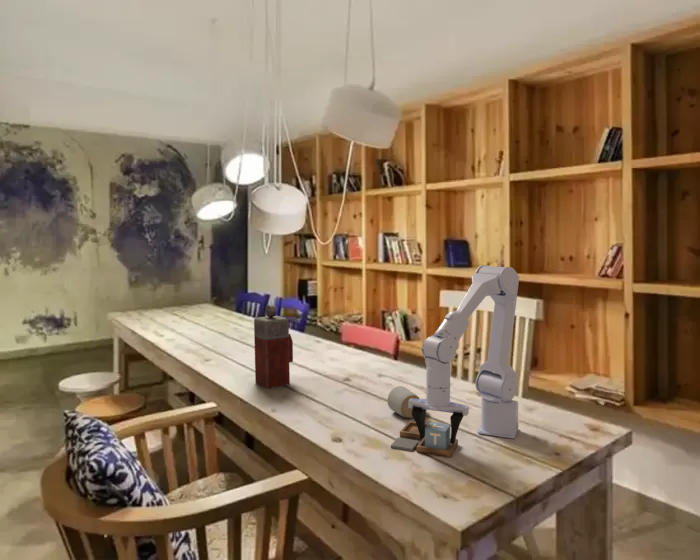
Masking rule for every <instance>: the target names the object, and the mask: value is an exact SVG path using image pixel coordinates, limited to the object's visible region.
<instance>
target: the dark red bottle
mask: <svg viewBox="0 0 700 560" xmlns="http://www.w3.org/2000/svg"><path fill="white" fill-rule="evenodd" d="M277 310H278V309H277V306H276V305H275V304H267V305H266V306H265V315H266V316H260V317H255V318H254V319H253V327H254V328H253V331H254V335H253V336H254V337H253V339H254V369H255V371H254V372H255V373H254V377H255V379H254V380H255V384H256V383H257V384H256V385H258V384H259V385H258V386H260V385H261V386H260V387H262V386H263V388H264V387H265V388H264V389H266V388H267V389H266V390H269V389H268V388H270V389H273V388H272V387H275V388H278V387H277V386H280V387H283V386H282V385H284V386H287V385H286V384H289V385H290V384H291V383H290V379H291V377H290V375H291V374H290V363H293V362H294V349H293V346H294V345H293V344H294V343H293V338H292V335H291V334H290V332H289V331H290V330H289V327H290V326H289V323H290V321H289V319H288V318H286V317H284V316H283V317H282V316H279V315H277V312H278V311H277Z"/></svg>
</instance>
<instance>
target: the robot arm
mask: <svg viewBox="0 0 700 560" xmlns="http://www.w3.org/2000/svg"><path fill="white" fill-rule="evenodd" d="M519 283H520V276H519V275H518V273H517V271H516V270H515V269H514V268H513V267H511V266H493V265H486V264H485V265H484V264H482V265H479V266H478V267H477V268H476V270H475V271H474V273H473V275H472V276H471V285H470V286H469V288H468V290H467V292H466V294H465V295H464V297H463V299H462V300H461V302H460V304H459V305H458V308H457V309H456V310H454V311H450V312H448V313H447V314H445V316H444V319H443V321H442V322H441V324H440V325H439V327H437V329H436V331H435V332H434V334H433V335H430V336H428V337H427V338H425V340H424V341H423V343H422V347H421V348H420V349H421V350H420V351H421V354H422V355H423V358H424V363H425V365H426V369H425V370H426V381H425V382H426V383H425V384H426V385H425V386H426V391H425V392H426V393H425V394H426V396H425V398H420V399H412V398H411V399H410V400H409V401H408V408H413V410H412V412H411V413H412V416H413V418H412V419H413V420H414V422H416V424H417V427H418V430H419V434H420V438H421V439H423V438H424V437H425V423H426V415H427V413H426V412H427V410H428V411H432V412H440V413H441V412H442V413H451V416H450V417H449V418H450V438H451V443H453V444H454V442H455V441H456V439H457V434H458V431H459V428H460V426H461V425H460V424H461V422H462V421H463V419H464V417H465V416H466V417H467V416H468V415H469V409H470V408H469V405H466V404H460V403H457V402H454V401H451V361H452V360H453V359H454V358H455V357H456V354H457V348H458V346H459V345H458V344H459V341H460V339H461V338H462V336H463V335H464V333H465V332H466V330H468V328H469V326H470V322H469V318H470V317H471V316H472V314H473V313H474V312H475V310H476V309H478V307H479V305H480V304H481V303H482V302H483V301H484V299H485V298H486V297H490V298H491V299H492V300H493V302H494V307H493V314H492V323H491V329H490V337H489V344H488V345H489V346H488V355H487V361H485V362H483V363H482V364H480V365H479V369H478V370H479V371H478V373H477V376H476V377H475V385H474V386H475V389H476V390H477V392H478V393H479V397H481V414H480V417H481V418H480V421H481V422H480V425H479V427H478V430H477V434H481V435H485V436H492V437H493V436H495V437H499V438H507V439H515V438H516V436H517V433H518V430H519V401H518V400H514V397H515V396H516V394H517V391H518V384H517V372H516V371H515V369H514V368H513V367H512V365H510V356H511V355H510V354H511V346H512V340H513V332H514V331H513V330H514V326H515V325H514V324H515V323H514V322H515V316H516V310H517V309H516V307H517V299H518V291H519V289H518V288H519Z"/></svg>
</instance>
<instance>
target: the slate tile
mask: <svg viewBox="0 0 700 560" xmlns="http://www.w3.org/2000/svg"><path fill="white" fill-rule="evenodd" d="M419 443H420V440H417V439H411V438H404V437H400V436H399V437H397V438H396V439H395V440H394V441H393V442H392V444H391V445H390V448H391V449H397V450H403V451H408V452H413V451H414V450H415V448H417V446H418V444H419Z"/></svg>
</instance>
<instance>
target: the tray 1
mask: <svg viewBox="0 0 700 560" xmlns="http://www.w3.org/2000/svg"><path fill="white" fill-rule="evenodd" d="M428 425H429V423H426V422H425V428H426V427H427V426H428ZM399 438H405V439H412V440H418V441H421V440H422V439H421V438H420V434H419V430H418V427H417V424H416V422H415V421H412V420H411V421H410V420H409V421H408V422H407V423H406V424H405V426H403V427H402V429H401V430H399Z"/></svg>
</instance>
